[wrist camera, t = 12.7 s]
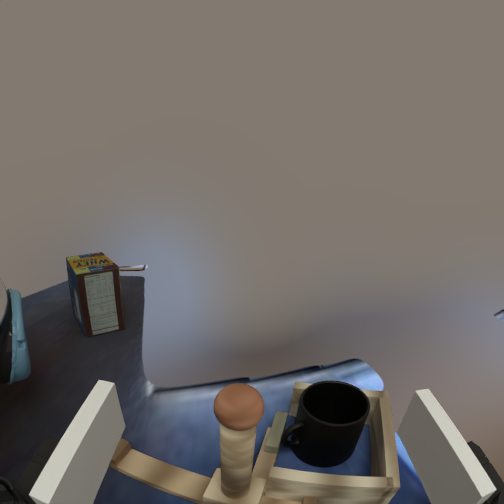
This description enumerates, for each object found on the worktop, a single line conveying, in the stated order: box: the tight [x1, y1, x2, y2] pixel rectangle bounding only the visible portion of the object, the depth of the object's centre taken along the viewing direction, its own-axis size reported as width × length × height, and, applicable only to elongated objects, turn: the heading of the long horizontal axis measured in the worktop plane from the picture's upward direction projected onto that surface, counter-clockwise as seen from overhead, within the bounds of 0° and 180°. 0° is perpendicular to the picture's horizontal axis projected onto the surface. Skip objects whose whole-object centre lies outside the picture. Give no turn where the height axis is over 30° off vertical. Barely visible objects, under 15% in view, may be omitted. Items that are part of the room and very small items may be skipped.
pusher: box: [203, 383, 288, 504], centre depth 30 cm, size 6×16×19 cm, turn 165°
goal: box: [265, 382, 400, 504], centre depth 34 cm, size 15×19×6 cm
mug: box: [281, 381, 370, 467], centre depth 36 cm, size 9×12×9 cm
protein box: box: [66, 252, 125, 338], centre depth 67 cm, size 10×15×16 cm
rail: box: [109, 438, 317, 504], centre depth 28 cm, size 26×4×2 cm, turn 75°
